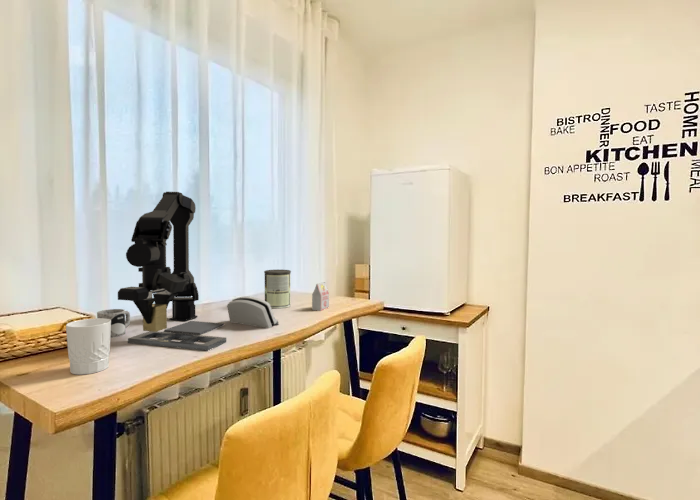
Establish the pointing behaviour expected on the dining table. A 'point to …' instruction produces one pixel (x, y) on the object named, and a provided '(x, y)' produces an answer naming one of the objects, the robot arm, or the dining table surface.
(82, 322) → the white cup
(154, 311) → the mustard yellow block
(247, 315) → the grey rounded two-tone device
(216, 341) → the grey slotted frame
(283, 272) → the coffee can
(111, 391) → the dining table surface
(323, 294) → the milk carton
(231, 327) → the dining table surface
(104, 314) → the mug
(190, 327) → the rubber pad
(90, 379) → the dining table surface
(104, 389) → the dining table surface
